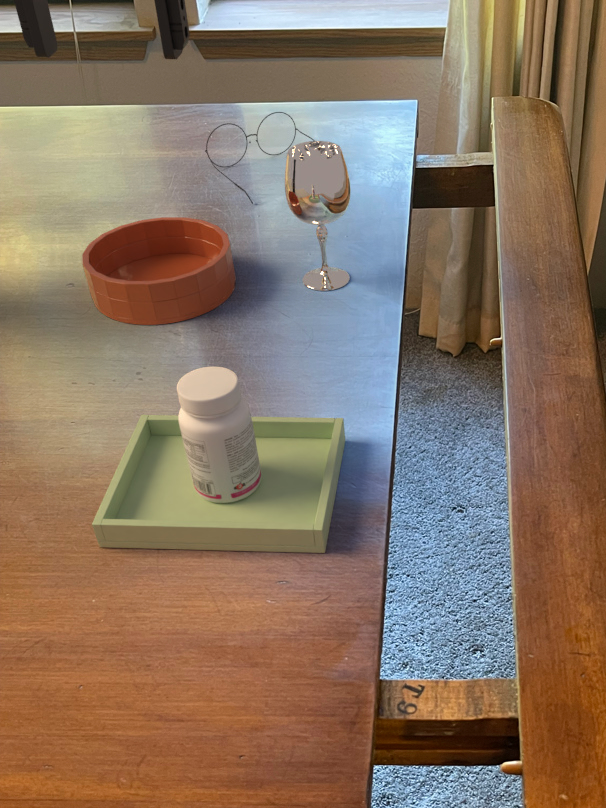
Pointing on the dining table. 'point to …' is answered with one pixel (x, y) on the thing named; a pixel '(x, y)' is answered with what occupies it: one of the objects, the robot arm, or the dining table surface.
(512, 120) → the dining table surface
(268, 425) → the tray
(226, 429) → the pill bottle
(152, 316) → the bowl
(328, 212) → the wineglass
